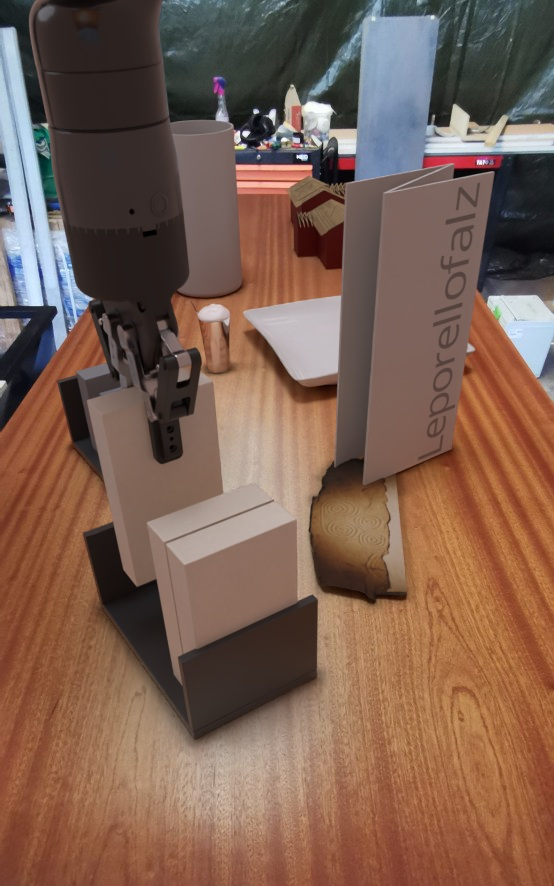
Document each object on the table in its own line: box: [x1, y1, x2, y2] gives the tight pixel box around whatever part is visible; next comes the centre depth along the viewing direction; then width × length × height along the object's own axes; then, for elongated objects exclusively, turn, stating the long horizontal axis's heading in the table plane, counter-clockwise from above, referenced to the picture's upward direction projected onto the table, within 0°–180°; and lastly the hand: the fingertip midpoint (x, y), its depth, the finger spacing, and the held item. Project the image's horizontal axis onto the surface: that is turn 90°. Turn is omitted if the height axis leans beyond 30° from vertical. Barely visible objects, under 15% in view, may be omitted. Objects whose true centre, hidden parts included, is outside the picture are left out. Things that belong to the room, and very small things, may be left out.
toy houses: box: [285, 175, 347, 270], centre depth 146 cm, size 45×20×10 cm, turn 9°
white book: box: [87, 371, 224, 587], centre depth 59 cm, size 9×3×16 cm, turn 123°
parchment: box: [308, 458, 408, 601], centre depth 79 cm, size 25×10×1 cm, turn 176°
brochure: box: [333, 163, 495, 485], centre depth 79 cm, size 14×6×30 cm, turn 126°
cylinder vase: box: [170, 119, 243, 299], centre depth 127 cm, size 12×12×25 cm
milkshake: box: [190, 300, 231, 374], centre depth 106 cm, size 4×5×10 cm
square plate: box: [242, 295, 476, 388], centre depth 112 cm, size 27×27×4 cm
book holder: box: [82, 481, 319, 740], centre depth 62 cm, size 12×19×17 cm, turn 33°
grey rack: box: [56, 362, 158, 482], centre depth 88 cm, size 12×14×11 cm
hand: (159, 449), depth 57 cm, fingers closed on white book, 3 cm apart
